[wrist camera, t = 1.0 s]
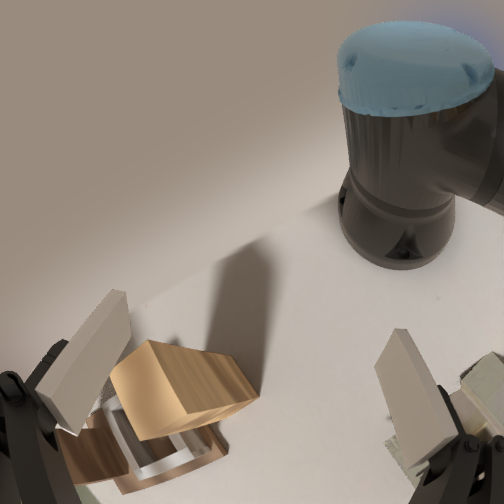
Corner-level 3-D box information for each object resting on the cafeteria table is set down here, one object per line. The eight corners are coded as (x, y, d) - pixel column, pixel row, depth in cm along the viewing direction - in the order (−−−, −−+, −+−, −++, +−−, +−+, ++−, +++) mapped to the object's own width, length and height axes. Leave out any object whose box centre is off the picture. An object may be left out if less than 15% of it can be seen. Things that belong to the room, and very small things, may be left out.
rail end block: (229, 353, 31) (146, 336, 18) (259, 396, 27) (187, 414, 15) (198, 375, 31) (106, 368, 18) (226, 418, 27) (139, 441, 15)
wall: (383, 467, 22) (436, 546, 8) (378, 442, 19) (450, 545, 5) (479, 389, 23) (542, 445, 9) (490, 348, 20) (571, 409, 6)
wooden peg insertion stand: (171, 361, 33) (34, 331, 15) (228, 453, 25) (96, 508, 8) (90, 419, 32) (-16, 409, 15) (127, 493, 25) (20, 513, 8)
